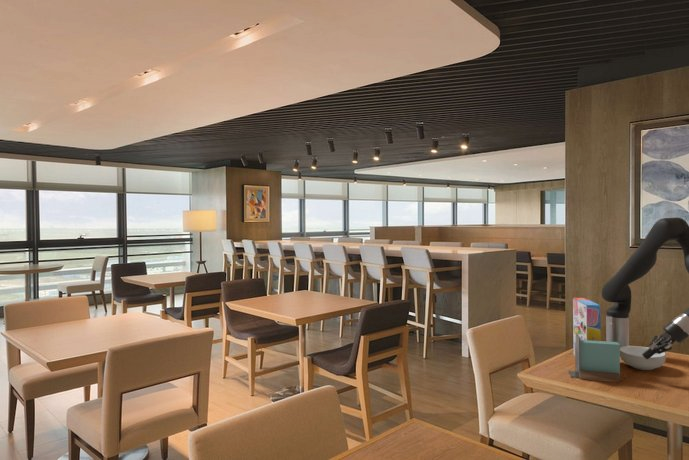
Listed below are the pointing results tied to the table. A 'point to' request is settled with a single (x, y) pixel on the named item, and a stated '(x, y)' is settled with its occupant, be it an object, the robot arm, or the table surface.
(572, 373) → the bookend
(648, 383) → the table surface
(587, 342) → the book box
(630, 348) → the cereal bowl
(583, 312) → the game box
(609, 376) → the shelf slot
